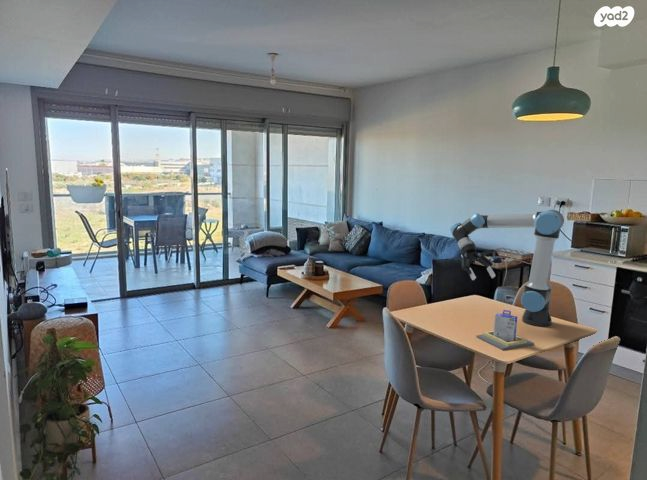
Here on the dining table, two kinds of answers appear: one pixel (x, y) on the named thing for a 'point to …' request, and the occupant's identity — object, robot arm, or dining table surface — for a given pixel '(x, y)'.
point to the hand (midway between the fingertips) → (484, 278)
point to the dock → (504, 344)
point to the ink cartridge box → (505, 326)
